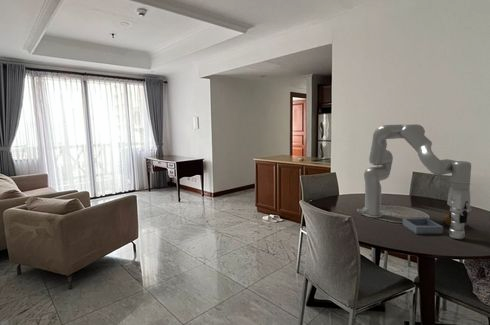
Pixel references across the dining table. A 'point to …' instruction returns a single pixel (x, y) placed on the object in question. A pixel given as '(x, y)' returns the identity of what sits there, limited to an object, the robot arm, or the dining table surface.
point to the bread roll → (449, 219)
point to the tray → (422, 226)
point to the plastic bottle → (456, 225)
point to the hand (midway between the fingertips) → (457, 220)
